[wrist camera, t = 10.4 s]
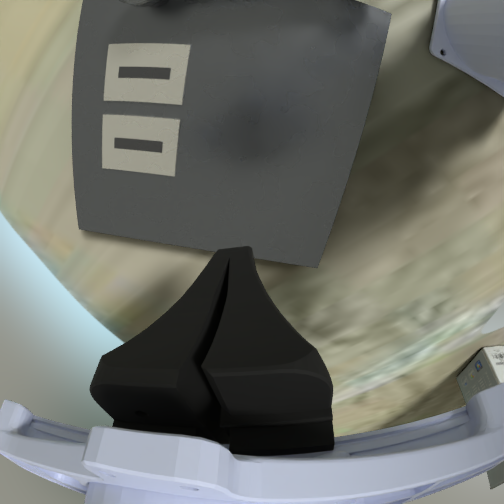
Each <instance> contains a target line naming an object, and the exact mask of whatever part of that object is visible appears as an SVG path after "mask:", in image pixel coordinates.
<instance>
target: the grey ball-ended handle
mask: <svg viewBox="0 0 504 504" xmlns="http://www.w3.org/2000/svg"><path fill="white" fill-rule="evenodd" d="M119 1H121V2H123V3H126V4H129V5H132V6H135V7H147V6H150V5H153V4H155V3H156V2H158V1H159V0H119Z"/></svg>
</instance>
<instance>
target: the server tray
mask: <svg viewBox="0 0 504 504" xmlns="http://www.w3.org/2000/svg"><path fill="white" fill-rule="evenodd" d="M391 15H392V14H391V13H388V12H386V11H383V10H381V9H378V8H375V7H373V6H370V5H367V4H364V3H362V2H359V1H356V0H159V1H158V2H156V3H155V4H153V5H150V6H147V7H135V6H132V5H129V4H126V3H123V2H121V1H119V0H83V3H82V9H81V15H80V21H79V28H78V35H77V43H76V52H75V62H74V75H73V92H72V157H73V176H74V189H75V200H76V210H77V218H78V226H79V229H81V230H87V231H93V232H99V233H104V234H110V235H116V236H122V237H128V238H134V239H141V240H147V241H153V242H159V243H165V244H171V245H177V246H183V247H189V248H195V249H201V250H208V251H214V252H217V250H218V249H225V248H234V247H243V246H250V247H251V248H252V250H253V255H254V258H257V259H263V260H270V261H276V262H282V263H288V264H295V265H301V266H307V267H314V268H318V265H319V262H320V260H321V257H322V254H323V251H324V249H325V246H326V243H327V240H328V237H329V234H330V232H331V229H332V226H333V223H334V220H335V217H336V214H337V211H338V208H339V205H340V202H341V199H342V196H343V193H344V190H345V187H346V184H347V181H348V178H349V175H350V171H351V168H352V165H353V162H354V159H355V155H356V152H357V149H358V145H359V142H360V138H361V135H362V132H363V128H364V125H365V121H366V118H367V114H368V110H369V107H370V103H371V99H372V95H373V92H374V88H375V84H376V80H377V76H378V72H379V68H380V64H381V60H382V56H383V51H384V47H385V43H386V38H387V34H388V29H389V24H390V19H391Z"/></svg>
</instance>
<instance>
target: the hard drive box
mask: <svg viewBox="0 0 504 504" xmlns="http://www.w3.org/2000/svg"><path fill="white" fill-rule="evenodd" d="M456 379H457V382H458V384H459V387H460V389H461V392H462V395H463V397H464V400H465V403H466V405H467V403H468V401H469V400H470V399H471V398H472V397H473V396H474V395H475V394H477V393H478V392H480V391H482V390H485V389H487V388H490V387H493V386H495V385H498V384H500V383H504V346H493V347H484V348H483V349H481V350H480V352H479V353H478V354H477V355H476V356H475V358H474V359H473V360H472V361H471V362H470V363H469V365H468V366H467V367H466V368H465V369H464V370H463V371H462V372H461V374H460V375H459V376H458V377H457V378H456ZM487 474H488V479H489V483H490V489H493V488H495V487H497V486H499V485H501V484H503V483H504V461H503V462H501V463H500V464H498V465H497V466H495V467H494V468H492V469H490V470H488V471H487Z"/></svg>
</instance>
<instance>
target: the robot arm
mask: <svg viewBox="0 0 504 504" xmlns="http://www.w3.org/2000/svg"><path fill="white" fill-rule="evenodd" d="M429 50H430V53H431V54H432V55H433V56H435V57H437V58H439V59H441V60H443V61H445V62H447V63H449V64H451V65H452V66H454V67H456V68H458V69H460V70H461V71H463V72H465V73H467V74H468V75H470V76H472V77H473V78H475V79H477V80H478V81H480V82H481V83H483V84H485V85H486V86H488V87H489V88H491V89H492V90H494V91H495V92H497V93H498V94H500V95H501V96H502V97H504V0H438V4H437V10H436V15H435V21H434V26H433V31H432V36H431V41H430V46H429ZM441 50H443V56H442V55H441V53H440V51H441ZM90 393H91V395H92V397H93V398H94V400H95V401H96V402H97V403H98V404H99V405H100V406H101V407H102V408H103V409H104V410H105V411H106V412H107V413H108V414H109V415H110V416H111V417H112V418H113V419H114V423H113V426H112V427H110V426H94V427H93V428H92V429H91V430H90V429H85V428H80V427H76V426H72V425H68V424H64V423H60V422H56V421H52V420H49V419H45V418H41V417H38V416H35V415H33V413H31V411H29V410H28V409H27V408H26V407H24V406H23V405H21V404H19V403H16V402H13V401H10V400H7V399H6V400H4V402H3V404H2V407H1V409H0V454H2V455H3V456H5V457H6V458H8V459H9V460H11V461H12V462H14V463H16V464H17V465H19V466H20V467H22V468H24V469H25V470H27V471H30V472H32V473H34V474H36V475H38V476H40V477H43V478H45V479H47V480H50V481H52V482H54V483H57V484H59V485H62V486H64V487H66V488H69V489H72V490H74V491H77V492H79V493H82V494H85V495H86V497H85V502H84V504H403V503H406V502H410V501H413V500H416V499H419V498H422V497H425V496H428V495H431V494H433V493H436V492H439V491H441V490H444V489H447V488H449V487H452V486H454V485H457V484H459V483H462V482H464V481H466V480H468V479H471V478H473V477H475V476H478V475H480V474H482V473H484V472H486V471H488V470H490V469H492V468H494V467H495V466H497V465H498V464H500V463H501V462H503V461H504V383H500V384H498V385H495V386H493V387H490V388H487V389H485V390H482V391H480V392H478V393H477V394H475V395H474V396H473V397H472V398H471V399H470V400H469V401H468V403H467V405H466V406H464V407H461V408H458V409H455V410H452V411H449V412H446V413H443V414H439V415H436V416H433V417H429V418H425V419H422V420H418V421H414V422H410V423H406V424H402V425H398V426H394V427H389V428H385V429H380V430H375V431H370V432H364V433H359V434H353V435H346V436H340V437H334V432H333V424H332V420H333V415H332V408H331V405H332V397H333V384H332V381H331V377H330V375H329V372H328V370H327V368H326V366H325V364H324V362H323V360H322V358H321V356H320V355H319V353H318V351H317V349H316V348H315V347H313V346H312V345H311V344H310V343H309V342H308V341H306V340H305V339H304V338H303V337H302V336H301V335H300V334H299V333H298V332H297V331H296V330H295V329H294V328H293V327H292V326H291V325H290V323H289V322H288V321H287V320H286V319H285V318H284V316H283V315H282V314H281V313H280V311H279V310H278V309H277V307H276V306H275V305H274V303H273V302H272V300H271V298H270V297H269V295H268V294H267V292H266V290H265V288H264V286H263V284H262V282H261V280H260V278H259V276H258V273H257V271H256V266H255V261H254V255H253V250H252V248H251V247H250V246H243V247H234V248H225V249H218V250H217V252H216V253H215V254H214V256H213V257H212V258H211V260H210V261H209V263H208V264H207V266H206V267H205V268H204V270H203V271H202V272H201V274H200V275H199V276H198V278H197V279H196V280H195V282H194V283H193V284H192V285H191V287H190V288H189V289H188V290H187V291H186V292H185V294H184V295H183V296H182V297H181V298H180V299H179V300H178V301H177V302H176V303H175V304H174V305H173V306H172V307H171V308H170V309H169V310H168V311H167V312H166V313H165V314H164V315H162V316H161V317H160V318H159V319H158V320H156V321H155V322H154V323H153V324H152V325H150V326H149V327H148V328H147V329H145V330H144V331H142V332H141V333H140V334H138V335H137V336H135V337H134V338H132V339H131V340H129V341H128V342H126V343H124V344H123V345H121V346H119V347H117V348H116V349H114V350H112V351H110V352H108V353H107V354H105V355H103V356H102V357H101V359H100V362H99V364H98V367H97V370H96V372H95V374H94V377H93V380H92V382H91V385H90Z"/></svg>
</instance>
